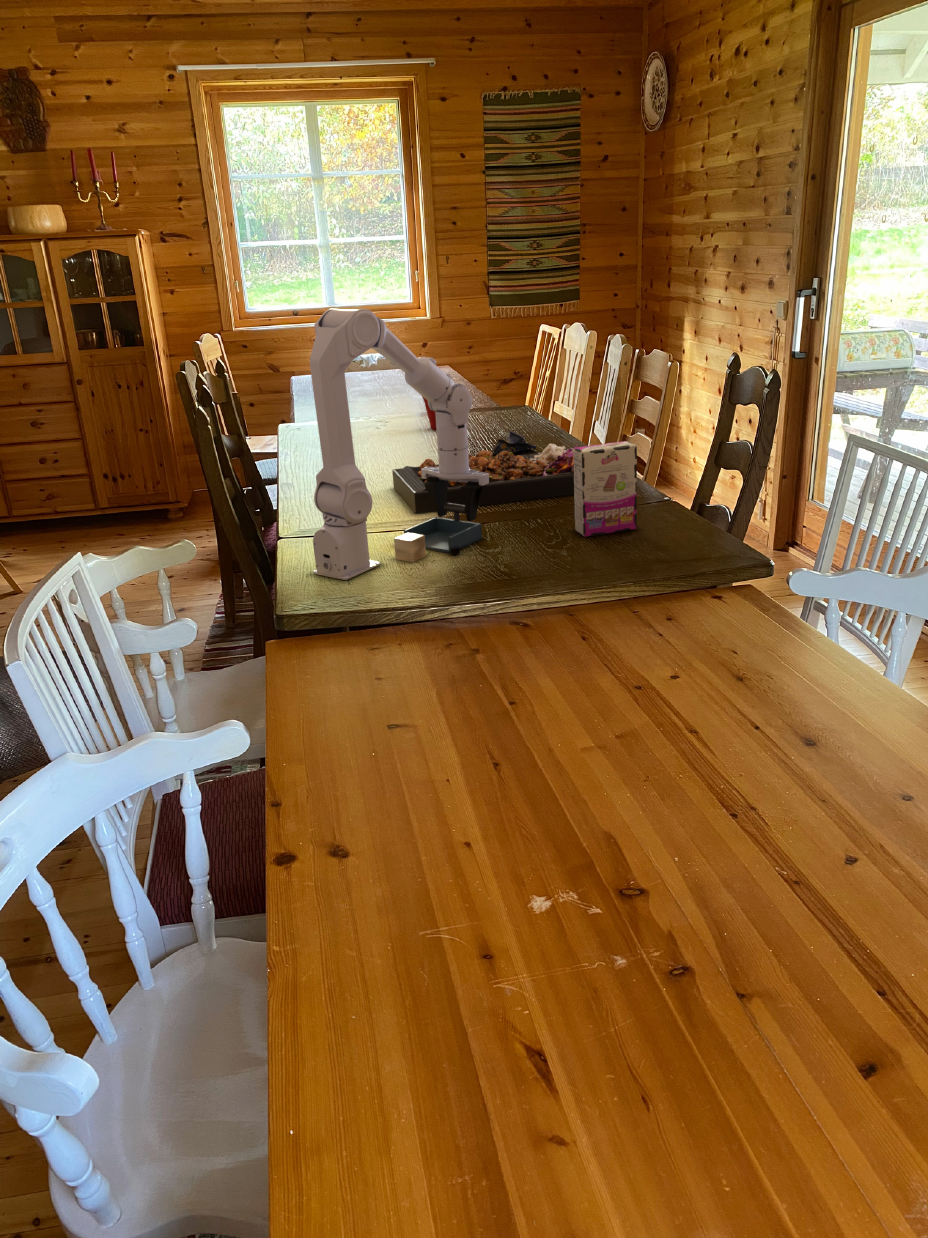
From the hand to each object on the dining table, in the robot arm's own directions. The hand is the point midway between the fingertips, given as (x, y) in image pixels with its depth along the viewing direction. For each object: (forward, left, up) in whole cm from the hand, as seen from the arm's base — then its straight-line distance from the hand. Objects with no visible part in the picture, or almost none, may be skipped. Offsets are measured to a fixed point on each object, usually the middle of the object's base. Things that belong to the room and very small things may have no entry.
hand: (456, 517), depth 177 cm
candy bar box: (+15, -24, -4) cm, 29 cm away
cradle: (-10, 0, -4) cm, 10 cm away
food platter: (+34, +13, -4) cm, 37 cm away
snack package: (+69, +31, -4) cm, 76 cm away
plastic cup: (+90, +72, -4) cm, 116 cm away
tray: (-5, 0, -4) cm, 6 cm away
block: (-15, 0, 0) cm, 15 cm away
